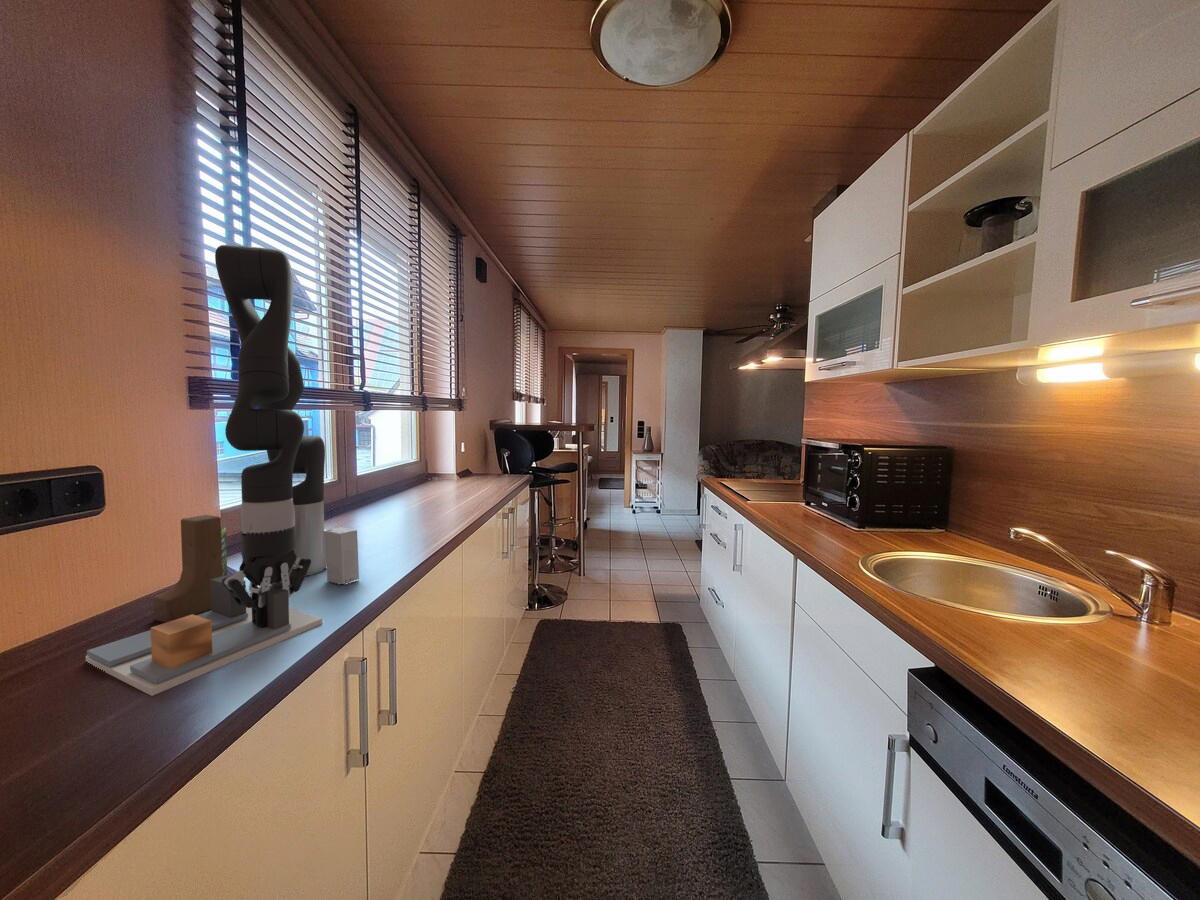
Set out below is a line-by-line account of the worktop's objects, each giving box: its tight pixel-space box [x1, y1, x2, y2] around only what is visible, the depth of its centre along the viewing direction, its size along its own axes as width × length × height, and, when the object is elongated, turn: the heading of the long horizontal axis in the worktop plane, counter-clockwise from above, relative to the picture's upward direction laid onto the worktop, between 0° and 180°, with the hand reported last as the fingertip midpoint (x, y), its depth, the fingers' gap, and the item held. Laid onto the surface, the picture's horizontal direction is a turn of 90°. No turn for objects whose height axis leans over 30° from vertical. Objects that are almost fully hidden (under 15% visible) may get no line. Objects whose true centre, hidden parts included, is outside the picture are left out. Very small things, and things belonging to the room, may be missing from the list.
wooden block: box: [152, 514, 223, 624], centre depth 85 cm, size 9×4×18 cm, turn 160°
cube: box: [150, 614, 212, 669], centre depth 67 cm, size 5×5×5 cm
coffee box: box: [221, 526, 228, 576], centre depth 95 cm, size 8×3×13 cm, turn 28°
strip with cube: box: [130, 584, 291, 684], centre depth 71 cm, size 18×7×7 cm, turn 157°
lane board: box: [85, 607, 323, 697], centre depth 75 cm, size 24×19×1 cm
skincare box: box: [325, 526, 360, 585], centre depth 103 cm, size 6×4×12 cm
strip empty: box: [86, 575, 248, 667], centre depth 74 cm, size 18×7×7 cm, turn 157°
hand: (270, 622), depth 78 cm, fingers closed on strip with cube, 2 cm apart
